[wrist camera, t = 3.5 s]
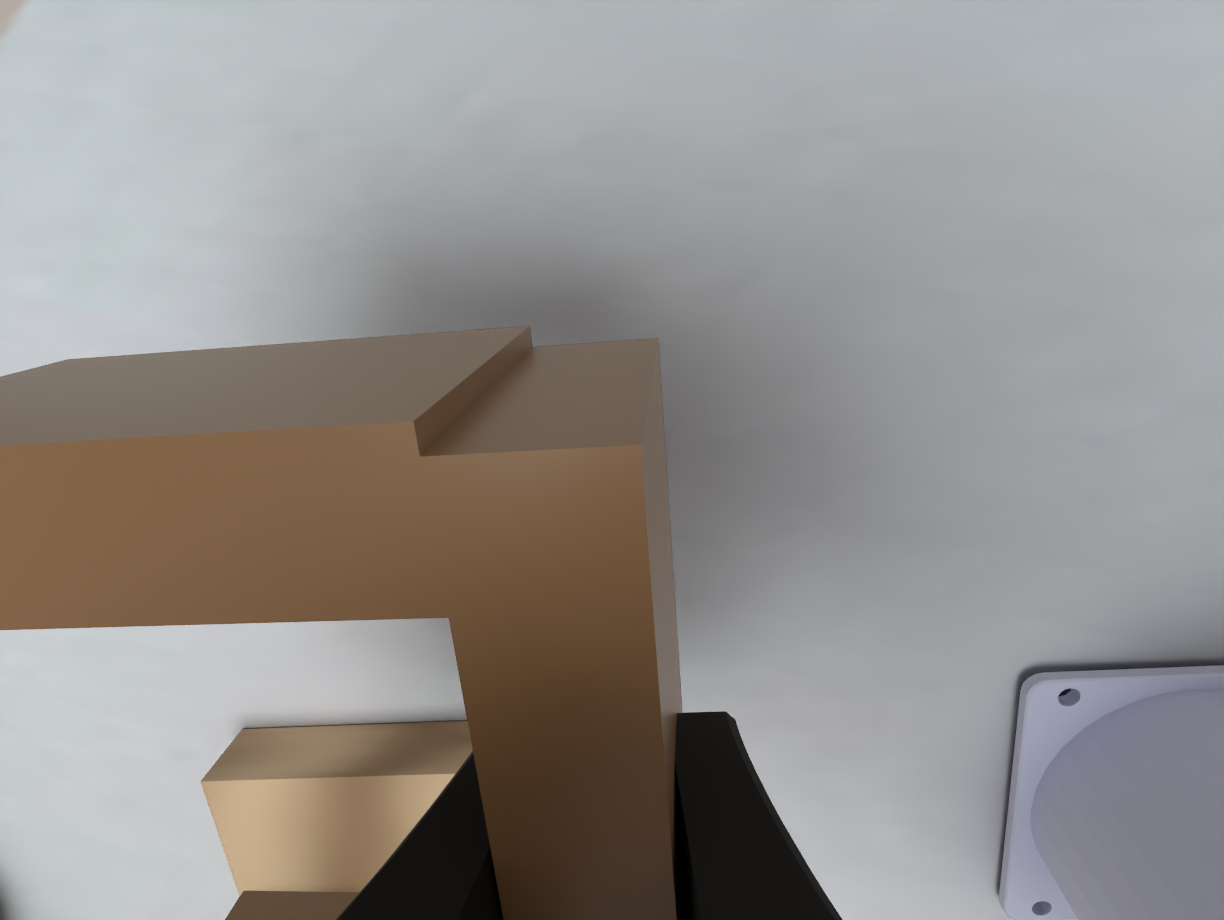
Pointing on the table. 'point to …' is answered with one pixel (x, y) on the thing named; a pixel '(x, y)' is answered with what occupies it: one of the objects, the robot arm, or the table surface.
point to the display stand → (327, 799)
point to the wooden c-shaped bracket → (395, 558)
